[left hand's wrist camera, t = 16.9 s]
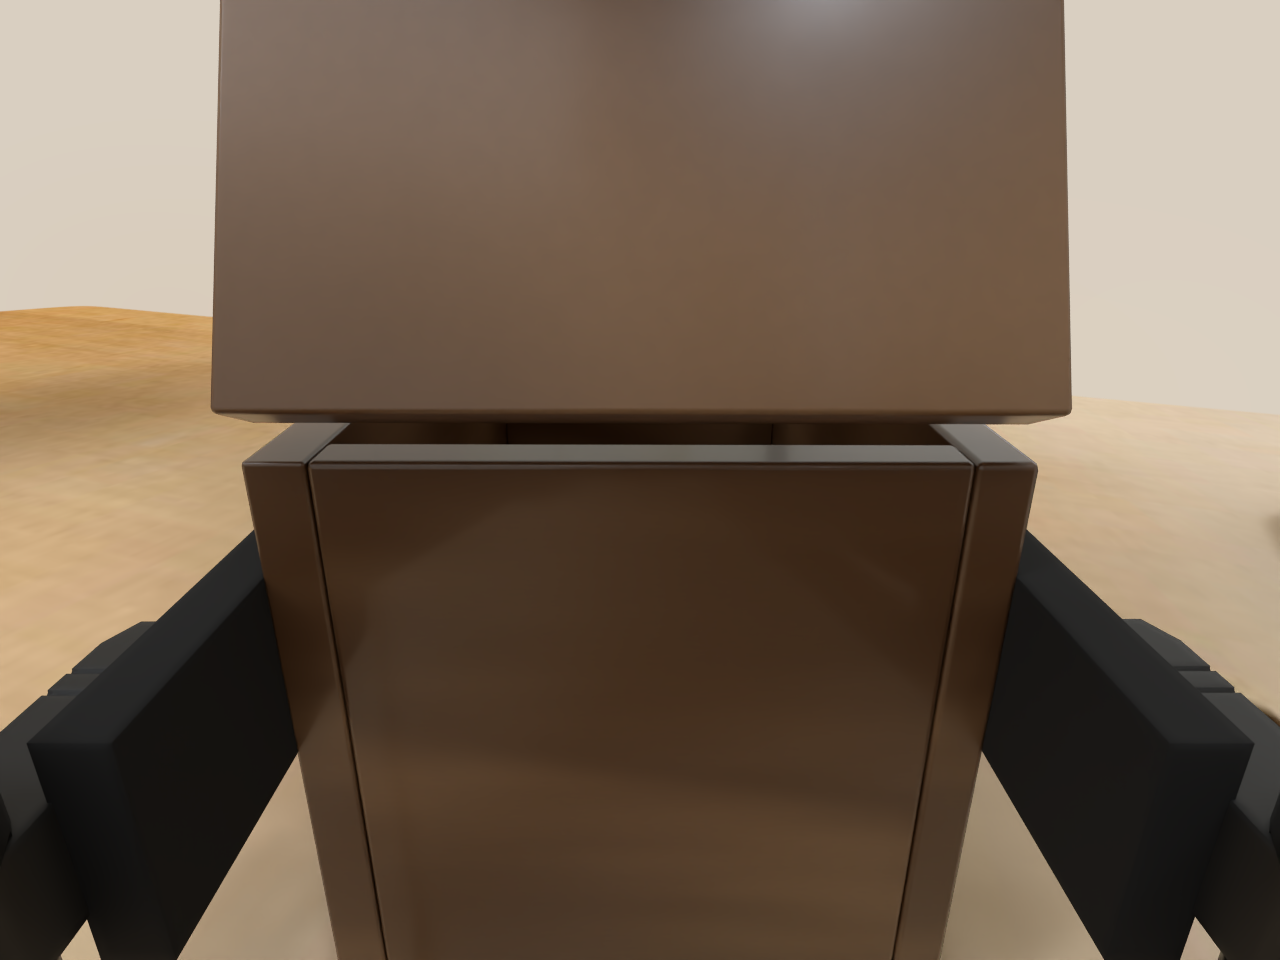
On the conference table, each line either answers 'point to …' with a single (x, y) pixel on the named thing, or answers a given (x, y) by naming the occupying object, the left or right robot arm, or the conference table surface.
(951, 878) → the chest
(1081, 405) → the conference table surface
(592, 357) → the lid
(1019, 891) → the conference table surface
